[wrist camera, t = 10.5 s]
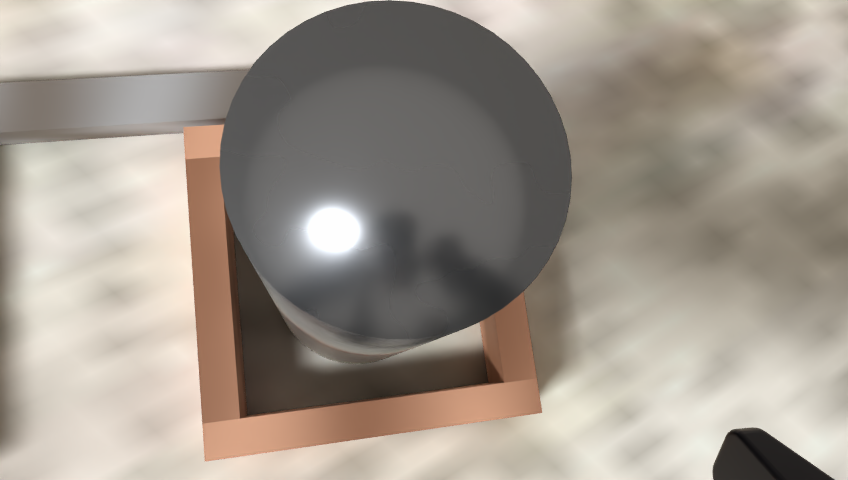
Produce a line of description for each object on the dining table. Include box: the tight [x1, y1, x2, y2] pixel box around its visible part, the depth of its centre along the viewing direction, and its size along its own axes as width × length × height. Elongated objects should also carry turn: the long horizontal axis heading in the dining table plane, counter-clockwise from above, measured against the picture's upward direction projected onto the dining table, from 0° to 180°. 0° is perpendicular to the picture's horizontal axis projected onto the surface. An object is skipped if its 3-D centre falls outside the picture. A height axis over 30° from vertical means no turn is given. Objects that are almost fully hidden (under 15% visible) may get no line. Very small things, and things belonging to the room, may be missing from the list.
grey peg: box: [219, 0, 572, 364], centre depth 16 cm, size 5×5×12 cm
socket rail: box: [0, 70, 542, 461], centre depth 20 cm, size 27×12×2 cm, turn 97°
